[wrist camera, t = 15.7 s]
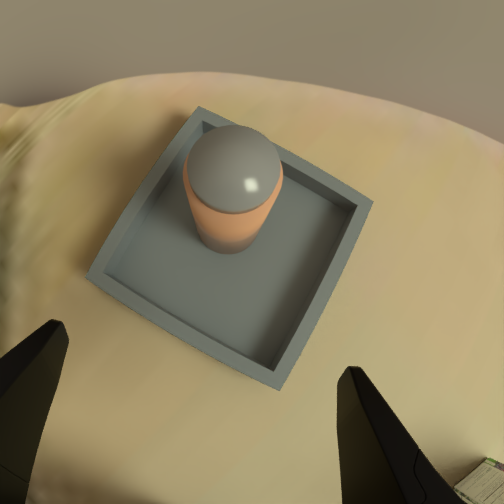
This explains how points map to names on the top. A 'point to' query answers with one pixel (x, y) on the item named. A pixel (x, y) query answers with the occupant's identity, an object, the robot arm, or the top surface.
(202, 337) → the tray
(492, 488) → the syrup box
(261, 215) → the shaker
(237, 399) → the top surface
